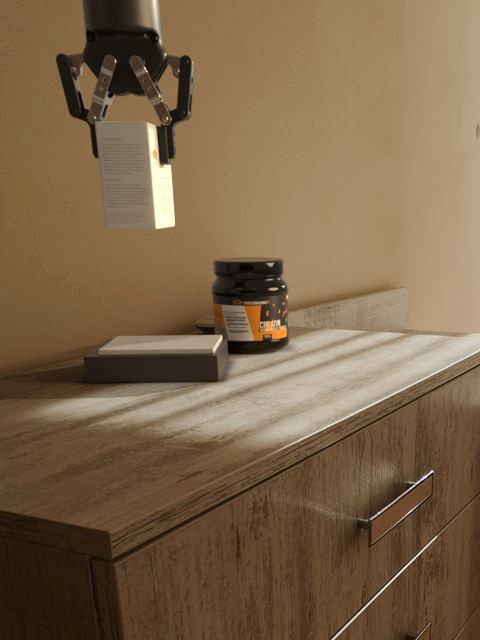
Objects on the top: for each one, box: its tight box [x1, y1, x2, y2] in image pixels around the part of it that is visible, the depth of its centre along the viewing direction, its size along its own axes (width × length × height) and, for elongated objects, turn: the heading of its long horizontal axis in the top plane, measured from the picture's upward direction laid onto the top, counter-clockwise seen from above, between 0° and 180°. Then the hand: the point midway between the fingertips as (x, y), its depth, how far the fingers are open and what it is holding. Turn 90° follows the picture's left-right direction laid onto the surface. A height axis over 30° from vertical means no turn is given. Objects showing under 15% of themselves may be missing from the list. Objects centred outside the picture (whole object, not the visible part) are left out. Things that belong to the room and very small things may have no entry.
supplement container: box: [210, 256, 291, 354], centre depth 113 cm, size 10×10×12 cm
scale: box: [83, 334, 229, 384], centre depth 99 cm, size 15×12×4 cm
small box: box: [95, 120, 176, 231], centre depth 88 cm, size 8×6×10 cm
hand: (135, 163), depth 88 cm, fingers closed on small box, 6 cm apart
